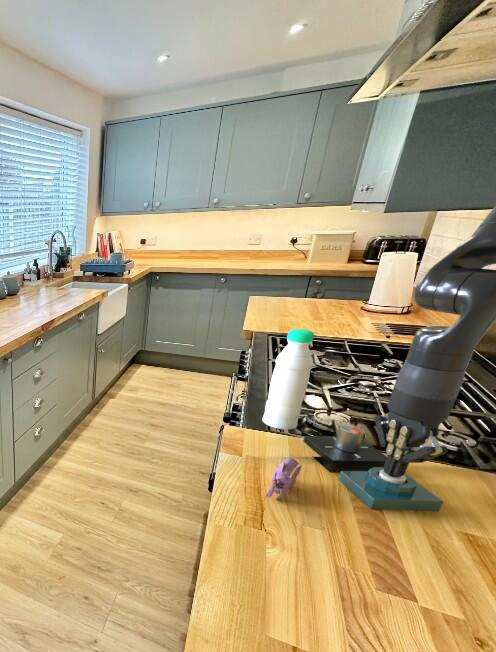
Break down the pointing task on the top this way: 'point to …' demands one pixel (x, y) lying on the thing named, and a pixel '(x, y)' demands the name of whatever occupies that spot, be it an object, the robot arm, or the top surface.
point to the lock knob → (349, 438)
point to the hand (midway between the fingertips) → (392, 474)
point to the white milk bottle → (289, 381)
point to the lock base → (344, 455)
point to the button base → (389, 492)
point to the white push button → (392, 478)
